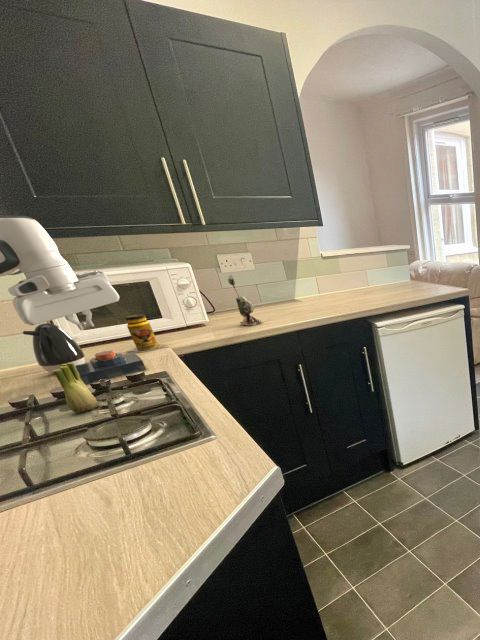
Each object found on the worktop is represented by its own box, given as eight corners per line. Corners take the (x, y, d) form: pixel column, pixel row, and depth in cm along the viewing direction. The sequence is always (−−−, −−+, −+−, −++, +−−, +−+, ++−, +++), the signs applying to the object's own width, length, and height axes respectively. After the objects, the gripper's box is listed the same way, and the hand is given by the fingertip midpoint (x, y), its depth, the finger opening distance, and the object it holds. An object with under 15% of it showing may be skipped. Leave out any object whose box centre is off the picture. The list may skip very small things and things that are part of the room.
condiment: (147, 351, 145) (133, 318, 140) (126, 351, 146) (111, 318, 141) (166, 345, 151) (153, 312, 146) (146, 344, 153) (132, 312, 148)
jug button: (98, 362, 122) (95, 356, 122) (95, 359, 125) (93, 353, 124) (117, 357, 125) (115, 352, 125) (115, 354, 128) (112, 349, 127)
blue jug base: (84, 385, 119) (76, 368, 117) (79, 375, 126) (71, 360, 124) (146, 369, 128) (139, 354, 126) (138, 361, 135) (131, 347, 133)
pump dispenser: (35, 376, 127) (8, 328, 121) (75, 364, 136) (52, 318, 130) (59, 378, 124) (33, 329, 118) (98, 365, 134) (76, 319, 127)
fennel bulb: (80, 416, 100) (55, 370, 95) (64, 415, 101) (39, 369, 96) (106, 405, 105) (84, 360, 100) (90, 404, 106) (68, 360, 101)
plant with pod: (239, 329, 167) (222, 278, 159) (240, 322, 176) (224, 274, 168) (262, 325, 171) (247, 275, 163) (261, 319, 180) (247, 272, 172)
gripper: (98, 268, 119) (127, 314, 126) (-2, 291, 105) (37, 342, 111) (105, 268, 116) (134, 315, 122) (3, 291, 101) (43, 343, 108)
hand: (87, 328), depth 117 cm, fingers closed
